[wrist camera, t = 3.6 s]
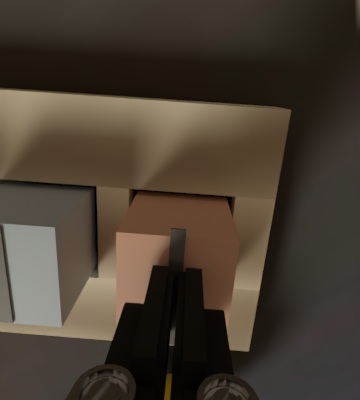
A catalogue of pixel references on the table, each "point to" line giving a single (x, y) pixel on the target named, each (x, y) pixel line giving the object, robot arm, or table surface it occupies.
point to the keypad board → (147, 178)
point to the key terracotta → (177, 247)
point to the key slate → (44, 250)
